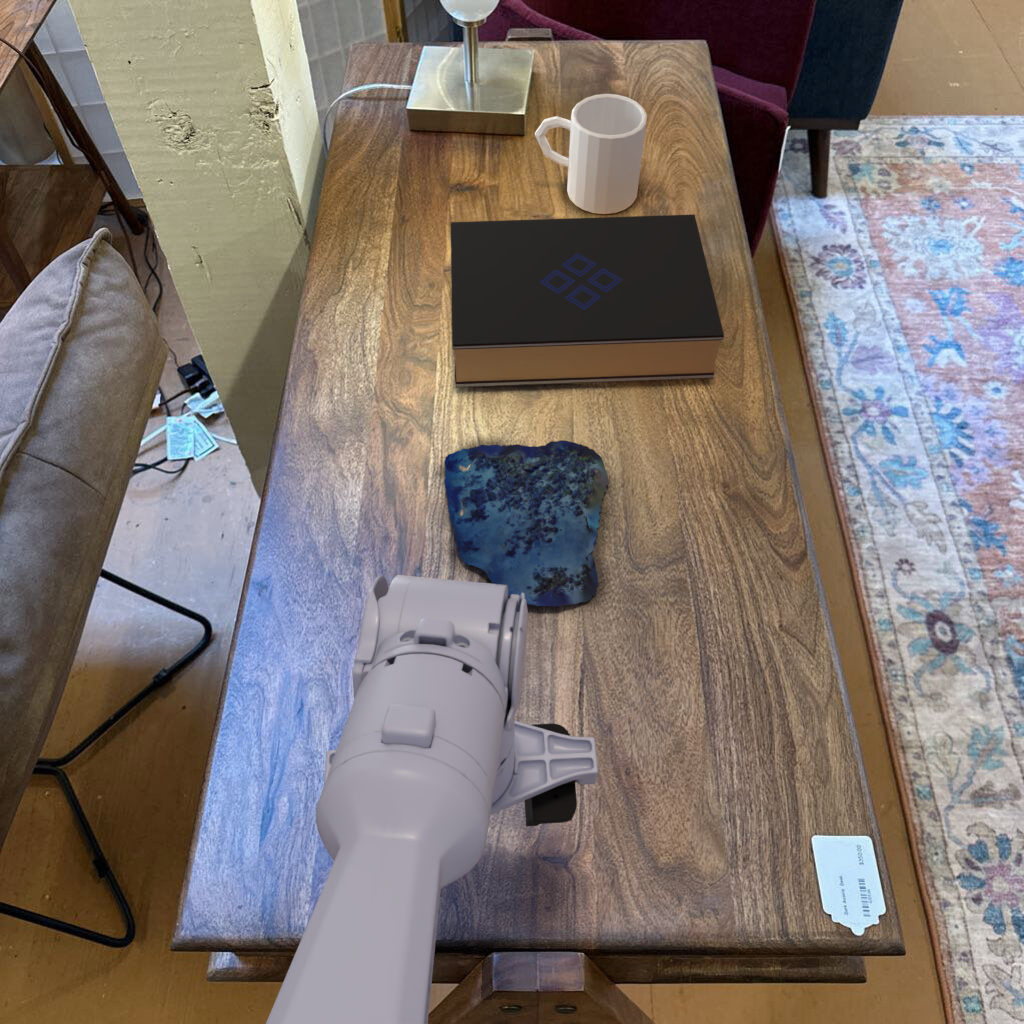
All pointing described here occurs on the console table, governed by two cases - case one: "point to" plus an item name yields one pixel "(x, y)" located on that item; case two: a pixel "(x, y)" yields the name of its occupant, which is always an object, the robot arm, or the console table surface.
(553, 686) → the console table surface
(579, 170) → the mug
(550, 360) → the book
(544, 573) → the rock
